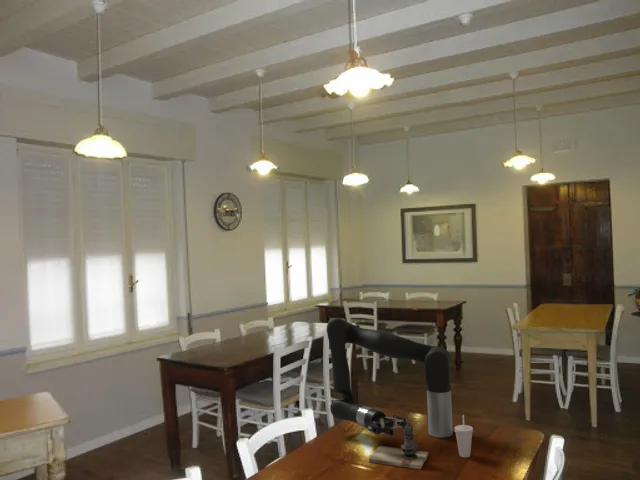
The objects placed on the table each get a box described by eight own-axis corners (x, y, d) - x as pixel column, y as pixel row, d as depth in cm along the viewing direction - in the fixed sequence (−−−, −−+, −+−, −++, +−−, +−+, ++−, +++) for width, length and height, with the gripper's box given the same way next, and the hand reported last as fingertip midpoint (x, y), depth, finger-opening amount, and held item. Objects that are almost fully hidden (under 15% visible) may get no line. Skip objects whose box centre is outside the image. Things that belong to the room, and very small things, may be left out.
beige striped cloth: (379, 449, 198) (379, 445, 198) (428, 455, 191) (428, 451, 191) (369, 462, 187) (368, 458, 187) (420, 469, 180) (420, 465, 180)
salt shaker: (418, 460, 184) (416, 425, 184) (400, 459, 186) (399, 424, 185) (418, 453, 190) (417, 419, 190) (401, 452, 191) (400, 418, 191)
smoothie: (474, 452, 192) (473, 413, 192) (473, 459, 186) (472, 419, 186) (456, 450, 194) (454, 412, 194) (454, 458, 188) (453, 417, 188)
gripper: (356, 412, 199) (386, 423, 186) (384, 404, 208) (415, 414, 195) (356, 433, 199) (387, 445, 186) (385, 423, 208) (416, 435, 195)
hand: (401, 429), depth 191 cm, fingers open, 8 cm apart
